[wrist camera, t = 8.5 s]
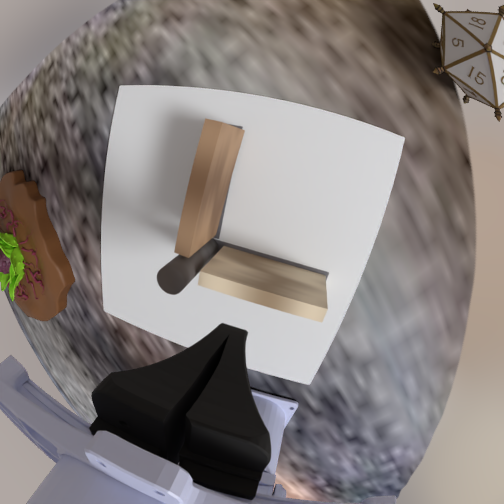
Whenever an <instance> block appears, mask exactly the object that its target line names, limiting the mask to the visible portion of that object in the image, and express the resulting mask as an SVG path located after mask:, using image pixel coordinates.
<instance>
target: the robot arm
mask: <svg viewBox="0 0 504 504" xmlns="http://www.w3.org/2000/svg"><path fill="white" fill-rule="evenodd" d="M247 336H248V332H247V330H244V329H241V328H237V327H234V326H231V325H228V324H225V323H221V324H219V325H218V326H217V327H216V328H215V329H214V330H212V331H211V332H210V333H209V334H207V335H206V336H205V337H203V338H202V339H201V340H199V341H198V342H196V343H195V344H193V345H192V346H190V347H189V348H187V349H185V350H184V351H182V352H180V353H178V354H176V355H174V356H172V357H170V358H168V359H165V360H163V361H160V362H158V363H155V364H152V365H149V366H145V367H142V368H138V369H133V370H127V371H120V372H112V373H110V374H109V375H108V376H107V377H106V378H105V379H104V380H103V381H102V382H101V383H100V384H99V385H98V386H97V387H96V389H95V390H94V391H93V392H92V395H91V396H92V401H93V404H94V407H95V410H96V412H97V415H98V417H97V418H96V419H95V421H94V422H93V423H92V424H89V423H88V422H86V421H85V420H83V419H82V418H80V417H79V416H77V415H76V414H74V413H73V412H71V411H70V410H68V409H67V408H66V407H64V406H63V405H62V404H60V403H59V402H58V401H56V400H55V399H54V398H52V397H51V396H50V395H48V394H47V393H46V392H45V391H43V390H42V389H41V388H40V387H38V386H37V385H36V384H35V383H34V382H33V381H31V380H30V379H29V376H28V373H27V371H26V369H25V368H24V367H23V366H22V365H21V364H20V363H19V362H18V361H17V360H16V359H15V358H14V357H13V356H11V355H10V356H9V357H8V358H6V359H5V360H4V361H3V362H2V363H0V409H1V410H2V412H3V413H4V414H5V415H6V416H7V417H8V418H9V419H10V420H11V421H12V422H13V423H14V424H15V425H16V426H17V427H18V428H19V429H20V430H21V431H22V432H23V433H24V434H25V435H26V436H27V437H28V438H29V439H30V440H31V441H32V442H33V443H34V444H35V445H36V446H37V447H38V448H39V449H40V450H42V451H43V452H44V453H45V454H46V455H47V456H48V457H49V458H51V459H52V460H53V461H54V462H56V465H55V466H54V467H53V469H52V470H51V471H50V473H49V474H48V475H47V476H46V478H45V479H44V480H43V482H42V483H41V484H40V486H39V487H38V489H37V490H36V491H35V492H34V494H33V495H32V496H31V498H30V499H29V501H28V502H27V503H26V504H396V496H379V497H370V498H367V499H365V500H363V501H362V502H361V503H335V502H319V501H309V500H300V499H292V498H286V490H285V489H284V488H283V487H282V485H281V484H276V485H275V488H274V491H273V487H274V483H275V478H276V475H275V472H276V467H277V462H278V457H279V452H280V447H281V442H282V436H283V431H284V428H285V427H286V425H287V423H288V422H289V420H290V419H291V417H292V415H293V414H294V412H295V410H296V409H297V407H298V402H297V401H293V400H289V399H285V398H281V397H277V396H273V395H270V394H266V393H262V392H259V391H255V390H252V389H251V388H250V384H249V379H248V374H247V367H246V339H247ZM178 463H179V466H178ZM272 493H273V494H272Z"/></svg>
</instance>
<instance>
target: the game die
mask: <svg viewBox="0 0 504 504" xmlns="http://www.w3.org/2000/svg"><path fill="white" fill-rule="evenodd" d="M433 4H434V3H433ZM434 6H435V9H436V10H437V11H438V12H440V13H442V28H441V39H440V44H439V43H438V42H434V43H433V44H432V45H433V46H434V47H435V48H440V51H441V61H442V67H435V69H434V71H433V73H436V74H439V75H440V74H442V73H443V72H446V73H447V74H448V75H449V76H450V77H451V79H452V80H453V81H454V82H455V83H456V84H457V85H458V86H459V87H460V88H461V89H462V91H463V92H464V93H465V94H466V96H464V98H463V101H464V103H468V101H469V98H473V99H475V100H477V101H479V102H482V103H484V104H486V105H488V106H490V107H492V108H494V109H495V112H494V113H495V117H496V118H497V120H498V121H500V119H501V118H502V116H501V112H500V109H501V108H503V107H504V17H503V15H504V5H503V6H500V7H499V13H489V12H472V11H469V10H468V9H467V11H448V12H447V11H446V12H445V11H444V10H443V8H442V7H441V6H440V5H437V4H434Z"/></svg>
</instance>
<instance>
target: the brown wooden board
mask: <svg viewBox="0 0 504 504" xmlns="http://www.w3.org/2000/svg"><path fill="white" fill-rule="evenodd" d="M244 132H245V130H243V129H240V128H237V127H234V126H232V125H229V124H226V123H223V122H219V121H215V120H210V119H206V118H205V122H204V125H203V129H202V132H201V136H200V140H199V143H198V147H197V151H196V155H195V159H194V163H193V167H192V171H191V175H190V179H189V183H188V187H187V192H186V196H185V201H184V205H183V210H182V215H181V219H180V224H179V229H178V234H177V239H176V245H175V250H174V253H177V254H179V255H182V256H185V257H187V258H189V257H191V256H192V255H193V254H194V253H195V252H196V251H198V250H199V249H200V248H201V247H202V246H203V245H205V244H206V243H207V242H208V241H209V240H211V239H212V238H213V237H214V236H215V235H216V233H217V229H218V225H219V221H220V218H221V214H222V210H223V206H224V203H225V199H226V195H227V191H228V188H229V184H230V181H231V177H232V173H233V170H234V166H235V163H236V159H237V156H238V152H239V149H240V146H241V142H242V139H243V136H244Z"/></svg>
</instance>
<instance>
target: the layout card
mask: <svg viewBox="0 0 504 504" xmlns="http://www.w3.org/2000/svg"><path fill="white" fill-rule="evenodd" d="M205 118H206V119H210V120H215V121H219V122H223V123H226V124H229V125H232V126H234V127H237V128H240V129H243V130H245V132H244V136H243V139H242V142H241V146H240V149H239V152H238V156H237V159H236V163H235V166H234V170H233V173H232V177H231V181H230V184H229V188H228V191H227V195H226V199H225V203H224V206H223V210H222V214H221V218H220V221H219V225H218V229H217V233H216V235H215V236H214V237H213V238H214V240H215V241H216V242H217V244H218V252H219V251H220V250H221V248H222V247H223V246H226V247H230V248H233V249H237V250H240V251H244V252H247V253H250V254H254V255H257V256H261V257H264V258H268V259H271V260H274V261H278V262H281V263H285V264H288V265H292V266H295V267H298V268H302V269H305V270H309V271H312V272H316V273H319V274H322V275H326V289H327V304H328V310H327V312H326V315H325V317H324V319H323V322H318V321H314V320H311V319H307V318H304V317H300V316H296V315H293V314H289V313H286V312H282V311H279V310H276V309H272V308H269V307H265V306H262V305H259V304H256V303H252V302H249V301H246V300H242V299H239V298H236V297H233V296H230V295H227V294H223V293H220V292H217V291H214V290H211V289H208V288H205V287H202V286H199V285H198V280H199V273H200V272H199V273H198V274H197V275H196V276H195V277H194V278H193V279H192V280H191V282H190V283H189V284H188V285H187V286H186V287H185V288H184V289H183V290H182V291H181V292H180V293H179V294H176V295H171V294H168V293H166V292H164V291H163V290H162V289H161V288H160V286H159V284H158V282H157V273H158V271H159V270H160V269H161V268H162V267H164V266H165V265H166V264H167V263H169V262H170V261H171V260H172V259H174V258H175V257H176V256H178V255H179V254H177V253H174V250H175V245H176V239H177V234H178V229H179V224H180V219H181V215H182V210H183V205H184V201H185V196H186V192H187V187H188V183H189V179H190V175H191V171H192V167H193V163H194V159H195V155H196V151H197V147H198V143H199V140H200V136H201V132H202V129H203V125H204V122H205ZM404 140H405V138H404V137H402V136H399V135H397V134H394V133H392V132H389V131H387V130H384V129H381V128H378V127H376V126H373V125H370V124H367V123H364V122H361V121H358V120H355V119H352V118H349V117H346V116H343V115H339V114H336V113H332V112H329V111H325V110H322V109H318V108H314V107H310V106H306V105H302V104H298V103H293V102H289V101H284V100H279V99H275V98H269V97H264V96H258V95H253V94H246V93H240V92H233V91H225V90H216V89H207V88H196V87H182V86H159V85H125V86H120V87H119V91H118V96H117V100H116V105H115V110H114V115H113V120H112V126H111V132H110V138H109V145H108V152H107V159H106V168H105V177H104V188H103V202H102V223H101V272H102V293H103V306H104V311H105V312H107V313H109V314H111V315H113V316H116V317H118V318H120V319H122V320H124V321H126V322H128V323H130V324H133V325H135V326H137V327H139V328H141V329H144V330H146V331H148V332H151V333H153V334H155V335H158V336H160V337H162V338H165V339H167V340H170V341H172V342H175V343H177V344H180V345H182V346H185V347H188V348H189V347H190V346H192V345H193V344H195V343H196V342H198V341H199V340H201V339H202V338H203V337H205V336H206V335H207V334H209V333H210V332H211V331H212V330H214V329H215V328H216V327H217V326H218V325H219V324H221V323H225V324H228V325H231V326H234V327H237V328H241V329H244V330H247V332H248V336H247V339H246V367H247V368H249V369H252V370H256V371H259V372H262V373H266V374H269V375H273V376H277V377H280V378H284V379H288V380H292V381H296V382H300V383H304V384H308V385H310V383H311V381H312V380H313V378H314V376H315V374H316V372H317V370H318V368H319V367H320V365H321V363H322V361H323V359H324V357H325V355H326V353H327V351H328V349H329V347H330V345H331V343H332V341H333V339H334V337H335V335H336V333H337V331H338V329H339V326H340V324H341V322H342V320H343V318H344V316H345V313H346V311H347V309H348V307H349V305H350V302H351V300H352V298H353V295H354V293H355V291H356V288H357V286H358V283H359V281H360V278H361V276H362V273H363V271H364V268H365V266H366V263H367V261H368V258H369V255H370V253H371V250H372V247H373V245H374V242H375V239H376V236H377V233H378V230H379V228H380V225H381V222H382V219H383V216H384V212H385V209H386V206H387V203H388V200H389V196H390V193H391V190H392V186H393V183H394V179H395V176H396V172H397V168H398V164H399V160H400V157H401V153H402V148H403V144H404ZM218 252H217V253H218Z"/></svg>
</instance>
